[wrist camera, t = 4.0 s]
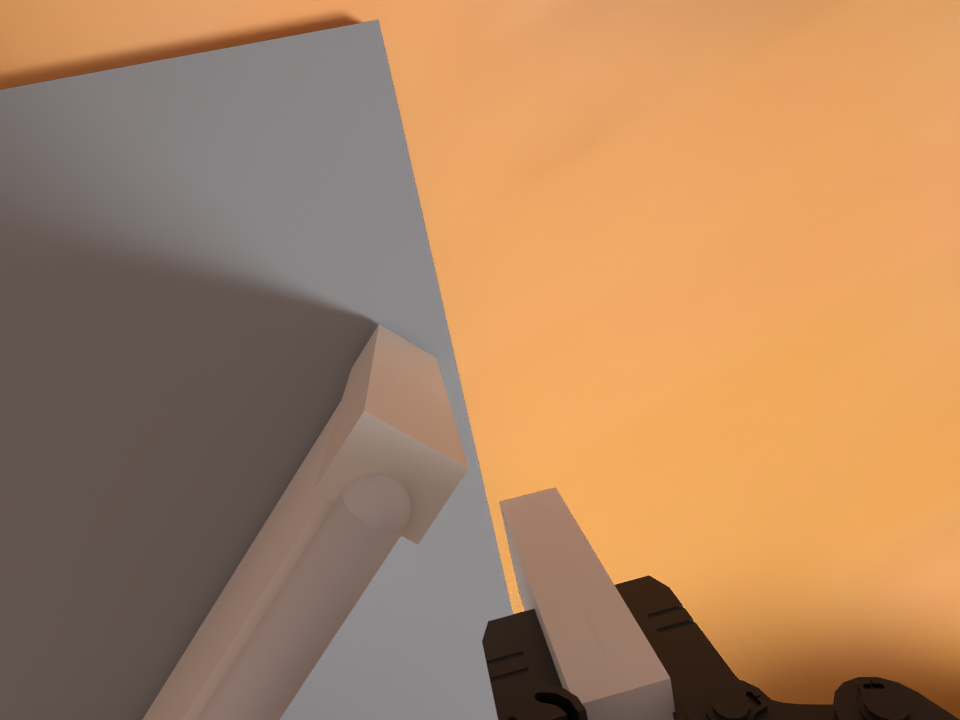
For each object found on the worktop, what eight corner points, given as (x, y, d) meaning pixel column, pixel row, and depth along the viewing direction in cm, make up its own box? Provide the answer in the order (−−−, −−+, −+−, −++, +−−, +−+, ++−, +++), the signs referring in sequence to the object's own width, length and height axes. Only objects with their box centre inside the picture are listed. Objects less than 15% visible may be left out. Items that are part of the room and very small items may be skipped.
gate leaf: (154, 798, 20) (-35, 1246, 11) (96, 778, 20) (-148, 1229, 11) (436, 357, 18) (473, 486, 9) (379, 323, 17) (361, 425, 9)
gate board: (544, 757, 24) (550, 780, 23) (5, 918, 22) (-14, 950, 21) (379, 31, 17) (378, 19, 16) (-418, 180, 15) (-474, 177, 14)
